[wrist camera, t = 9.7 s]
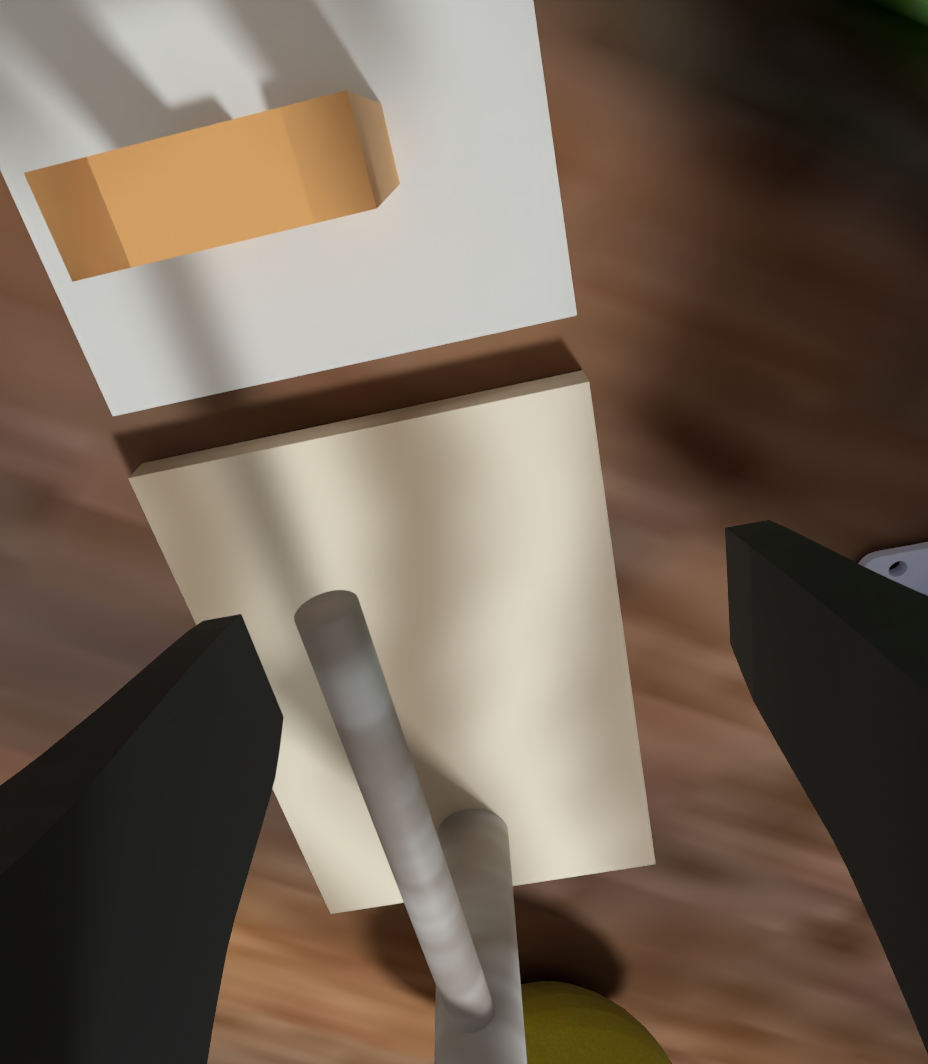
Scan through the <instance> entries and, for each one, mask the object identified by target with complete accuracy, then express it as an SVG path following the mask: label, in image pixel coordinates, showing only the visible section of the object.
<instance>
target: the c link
mask: <svg viewBox="0 0 928 1064" xmlns="http://www.w3.org/2000/svg"><path fill="white" fill-rule="evenodd" d="M24 175H25V177H26V179H27V182H28V184H29V186H30V188H31V191H32V193H33V195H34V197H35V200H36V202H37V204H38V206H39V208H40V211H41V213H42V215H43V217H44V220H45V222H46V224H47V226H48V229H49V231H50V233H51V235H52V237H53V240H54V242H55V244H56V246H57V249H58V251H59V253H60V255H61V258H62V260H63V262H64V264H65V266H66V269H67V271H68V273H69V275H70V278H71V280H72V282H74V281H78V280H82V279H86V278H90V277H94V276H98V275H103V274H107V273H111V272H115V271H119V270H123V269H128V268H132V267H136V266H140V265H144V264H148V263H153V262H157V261H161V260H165V259H169V258H173V257H177V256H182V255H186V254H190V253H194V252H198V251H202V250H207V249H211V248H215V247H219V246H223V245H227V244H232V243H236V242H240V241H244V240H248V239H252V238H257V237H261V236H265V235H269V234H273V233H277V232H281V231H286V230H290V229H294V228H298V227H302V226H306V225H311V224H315V223H319V222H323V221H327V220H331V219H336V218H340V217H344V216H348V215H352V214H356V213H360V212H365V211H369V210H373V209H377V208H378V207H379V206H380V205H381V204H382V202H383V201H384V200H385V199H386V198H387V197H388V196H389V195H390V194H391V193H392V192H393V191H394V190H395V189H396V188H397V187H398V186H399V185H400V182H399V177H398V173H397V169H396V165H395V160H394V156H393V152H392V147H391V143H390V139H389V135H388V130H387V126H386V122H385V118H384V113H383V109H382V105H381V103H379V102H376V101H374V100H371V99H368V98H366V97H363V96H361V95H358V94H355V93H353V92H350V91H348V90H346V91H342V92H338V93H334V94H330V95H326V96H322V97H318V98H314V99H310V100H306V101H303V102H299V103H295V104H291V105H287V106H283V107H279V108H275V109H271V110H267V111H263V112H260V113H256V114H252V115H248V116H244V117H240V118H236V119H232V120H228V121H224V122H220V123H216V124H213V125H209V126H205V127H201V128H197V129H193V130H189V131H185V132H181V133H177V134H173V135H170V136H166V137H162V138H158V139H154V140H150V141H146V142H142V143H138V144H134V145H130V146H127V147H123V148H119V149H115V150H111V151H107V152H103V153H99V154H95V155H91V156H87V157H83V158H80V159H76V160H72V161H68V162H64V163H60V164H56V165H52V166H48V167H44V168H40V169H37V170H33V171H29V172H25V173H24Z"/></svg>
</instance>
